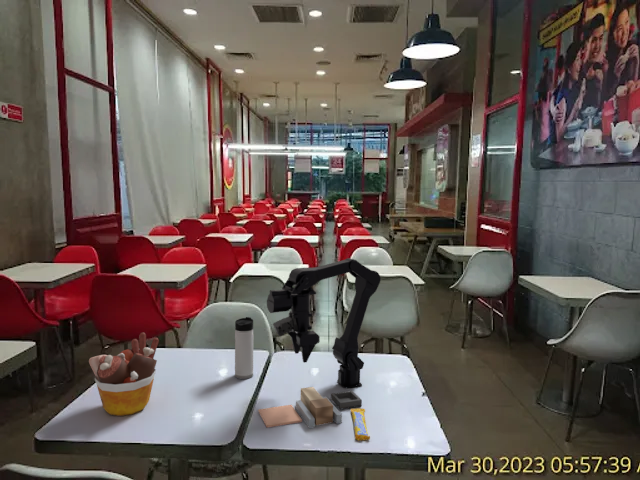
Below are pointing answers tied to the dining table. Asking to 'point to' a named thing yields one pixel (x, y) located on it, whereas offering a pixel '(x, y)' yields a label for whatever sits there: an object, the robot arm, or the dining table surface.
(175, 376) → the dining table surface
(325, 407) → the block
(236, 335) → the travel mug
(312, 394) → the tan wooden bar
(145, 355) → the bucket of meat
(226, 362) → the dining table surface
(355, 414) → the candy bar
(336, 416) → the channel
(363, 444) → the dining table surface
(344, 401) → the tray
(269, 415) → the tile
